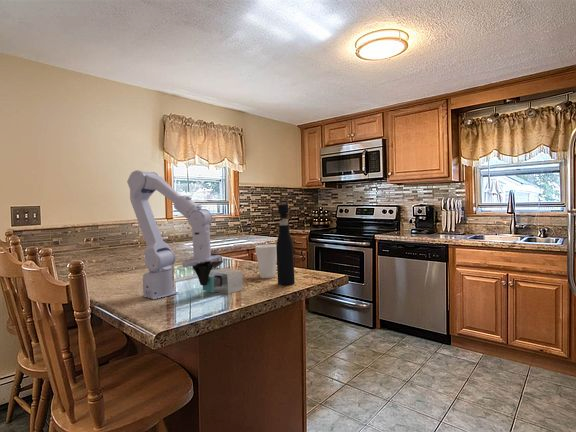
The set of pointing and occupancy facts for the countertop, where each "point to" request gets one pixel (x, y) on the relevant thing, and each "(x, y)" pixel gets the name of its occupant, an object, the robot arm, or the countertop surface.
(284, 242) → the wine bottle
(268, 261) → the foam cup
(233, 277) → the block
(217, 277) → the shaft
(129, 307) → the countertop surface
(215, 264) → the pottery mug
